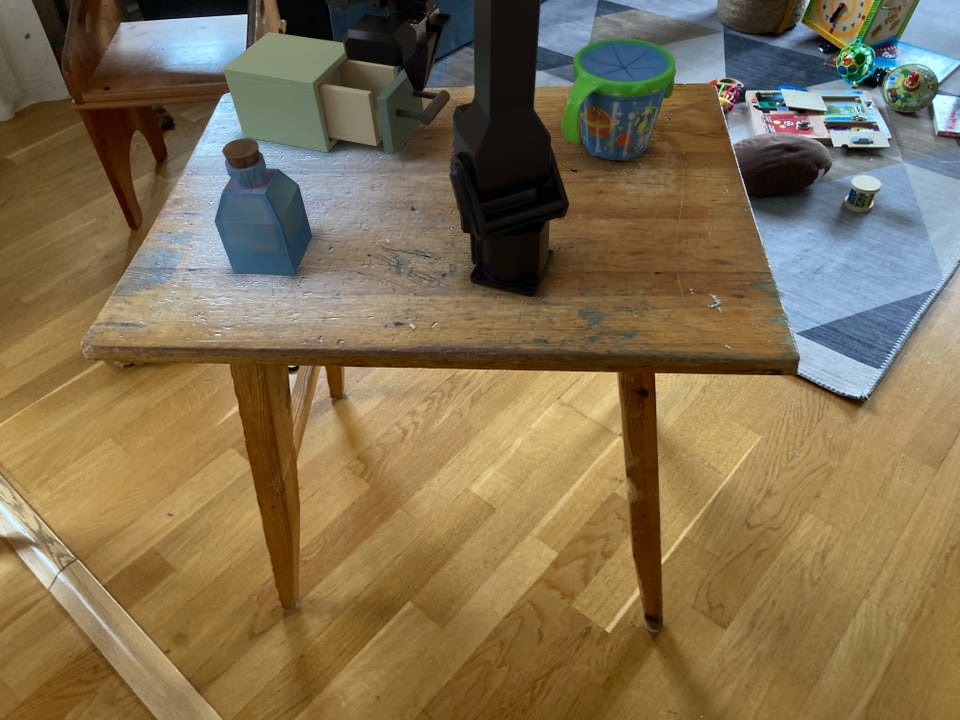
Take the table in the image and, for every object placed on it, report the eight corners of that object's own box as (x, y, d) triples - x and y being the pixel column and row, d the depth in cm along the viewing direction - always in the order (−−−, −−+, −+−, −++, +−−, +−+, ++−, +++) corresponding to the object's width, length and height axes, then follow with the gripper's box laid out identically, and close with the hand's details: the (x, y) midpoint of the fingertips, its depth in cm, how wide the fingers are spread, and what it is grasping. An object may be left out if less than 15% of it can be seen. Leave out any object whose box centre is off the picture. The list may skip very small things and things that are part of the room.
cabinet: (365, 112, 92) (353, 44, 86) (327, 153, 86) (312, 83, 80) (285, 98, 95) (268, 31, 89) (243, 136, 89) (222, 68, 83)
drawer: (457, 124, 88) (453, 69, 83) (429, 162, 82) (423, 105, 77) (347, 105, 92) (337, 51, 87) (313, 140, 86) (300, 85, 81)
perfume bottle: (294, 276, 72) (262, 169, 63) (233, 272, 72) (193, 166, 64) (312, 235, 76) (284, 130, 67) (254, 233, 76) (219, 128, 68)
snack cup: (635, 105, 91) (646, 21, 83) (698, 143, 85) (715, 56, 77) (532, 147, 85) (534, 62, 78) (591, 190, 79) (598, 102, 72)
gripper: (371, -105, 78) (390, 42, 89) (277, -39, 66) (313, 120, 78) (470, -96, 75) (476, 55, 86) (389, -26, 63) (409, 137, 75)
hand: (419, 89), depth 81 cm, fingers closed
